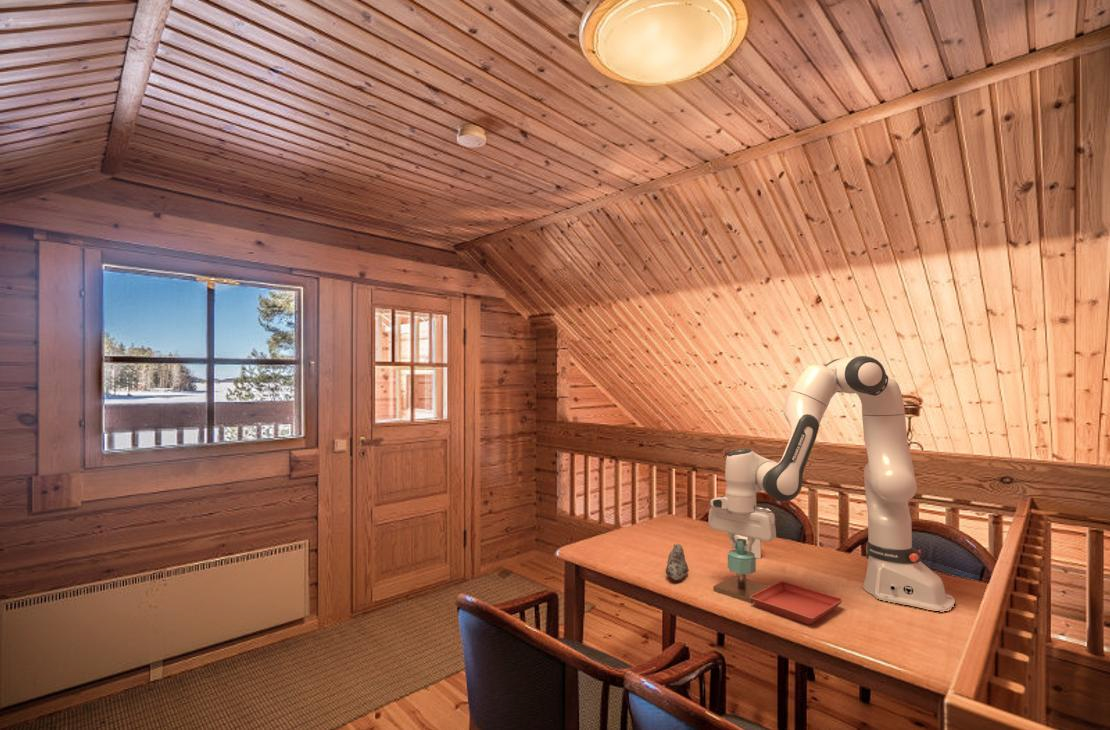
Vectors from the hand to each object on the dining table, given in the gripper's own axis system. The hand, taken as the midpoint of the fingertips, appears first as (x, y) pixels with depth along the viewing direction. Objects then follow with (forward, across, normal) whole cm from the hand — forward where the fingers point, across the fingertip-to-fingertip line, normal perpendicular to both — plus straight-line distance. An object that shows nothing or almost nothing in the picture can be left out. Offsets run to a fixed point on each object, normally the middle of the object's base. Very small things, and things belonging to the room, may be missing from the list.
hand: (741, 549), depth 162 cm
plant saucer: (+13, -16, 0) cm, 21 cm away
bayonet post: (+12, 0, 0) cm, 12 cm away
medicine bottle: (+13, +14, -31) cm, 36 cm away
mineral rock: (+13, +21, +4) cm, 25 cm away
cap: (+6, 0, 0) cm, 6 cm away
